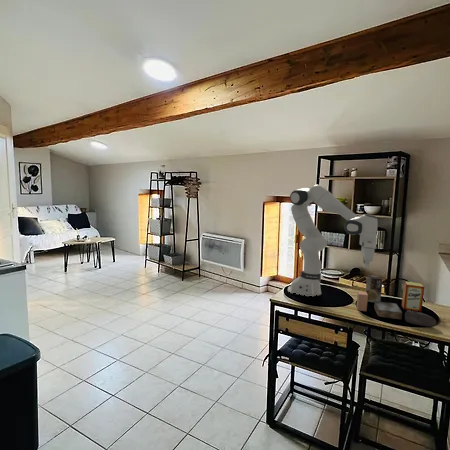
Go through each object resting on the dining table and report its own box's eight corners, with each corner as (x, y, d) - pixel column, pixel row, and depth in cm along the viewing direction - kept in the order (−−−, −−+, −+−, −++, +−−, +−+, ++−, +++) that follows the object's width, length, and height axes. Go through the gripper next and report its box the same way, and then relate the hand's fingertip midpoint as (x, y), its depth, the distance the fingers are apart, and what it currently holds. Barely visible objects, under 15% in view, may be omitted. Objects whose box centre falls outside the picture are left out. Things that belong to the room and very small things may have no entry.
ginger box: (418, 308, 200) (421, 283, 198) (421, 311, 194) (424, 286, 192) (401, 305, 203) (404, 280, 201) (403, 309, 197) (406, 284, 195)
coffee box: (380, 300, 211) (383, 276, 208) (380, 303, 205) (382, 279, 203) (365, 297, 215) (367, 274, 213) (364, 300, 209) (366, 276, 207)
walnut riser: (378, 316, 185) (378, 309, 185) (374, 307, 199) (374, 301, 198) (401, 319, 182) (402, 312, 182) (395, 310, 196) (396, 303, 195)
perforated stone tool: (435, 326, 175) (437, 314, 174) (436, 330, 170) (437, 317, 169) (403, 319, 182) (405, 308, 181) (403, 323, 178) (405, 311, 177)
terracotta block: (357, 310, 193) (358, 294, 192) (356, 307, 198) (357, 291, 197) (366, 311, 192) (368, 295, 191) (365, 308, 197) (366, 292, 196)
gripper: (359, 238, 200) (357, 260, 202) (364, 244, 181) (362, 269, 183) (370, 239, 199) (368, 261, 200) (376, 245, 179) (374, 270, 181)
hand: (365, 265), depth 191 cm, fingers open, 8 cm apart
